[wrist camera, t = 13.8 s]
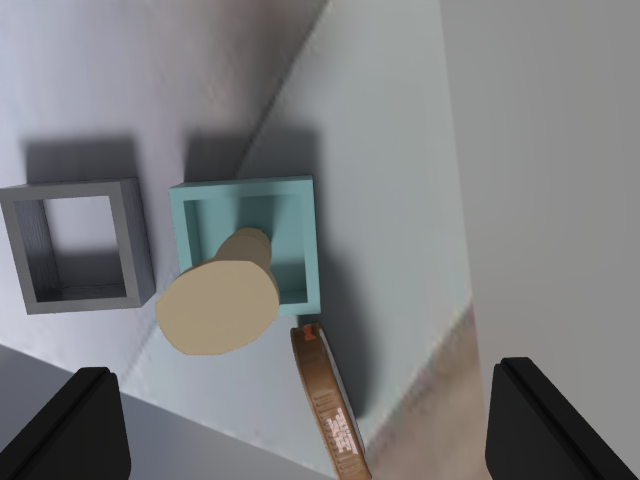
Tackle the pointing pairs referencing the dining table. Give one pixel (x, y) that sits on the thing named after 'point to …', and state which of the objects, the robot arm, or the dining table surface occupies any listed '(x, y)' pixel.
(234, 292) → the handle
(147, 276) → the collar
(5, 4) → the dining table surface
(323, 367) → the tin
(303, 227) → the tray
